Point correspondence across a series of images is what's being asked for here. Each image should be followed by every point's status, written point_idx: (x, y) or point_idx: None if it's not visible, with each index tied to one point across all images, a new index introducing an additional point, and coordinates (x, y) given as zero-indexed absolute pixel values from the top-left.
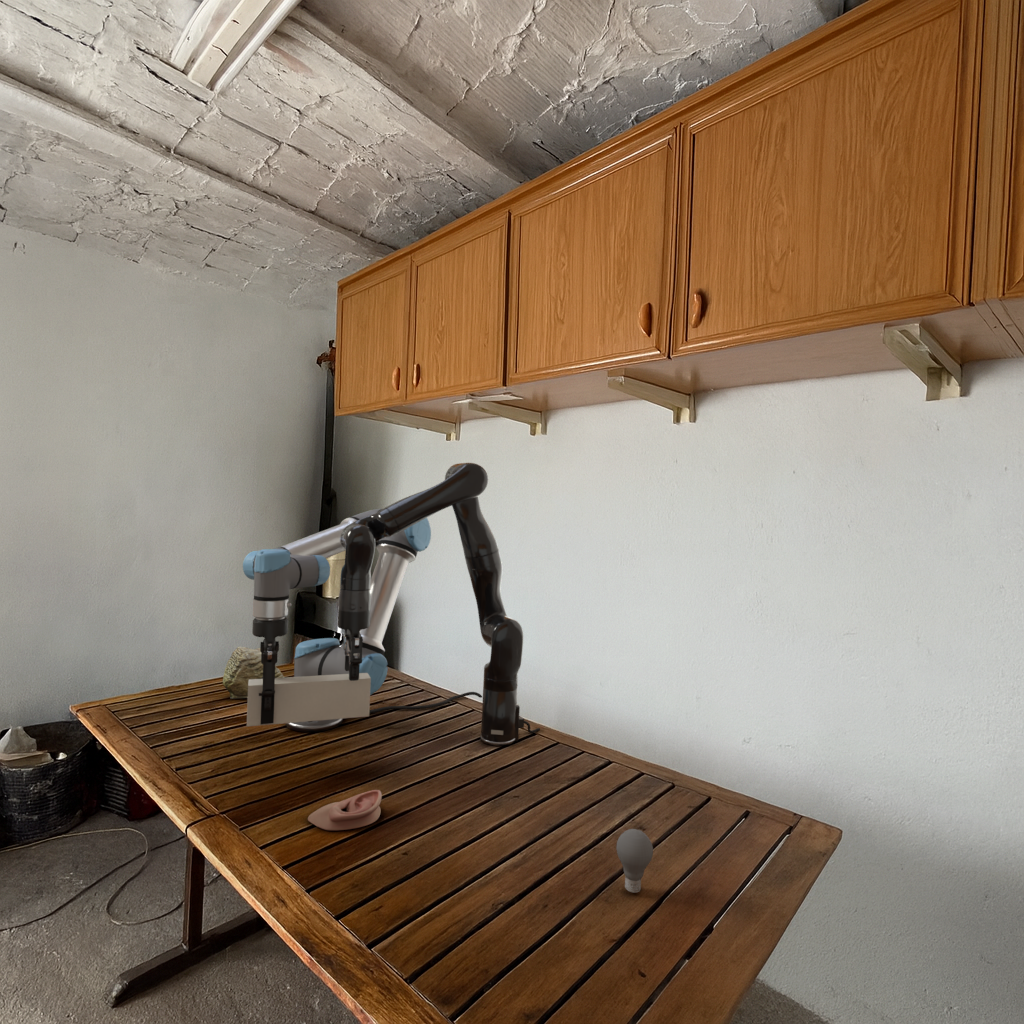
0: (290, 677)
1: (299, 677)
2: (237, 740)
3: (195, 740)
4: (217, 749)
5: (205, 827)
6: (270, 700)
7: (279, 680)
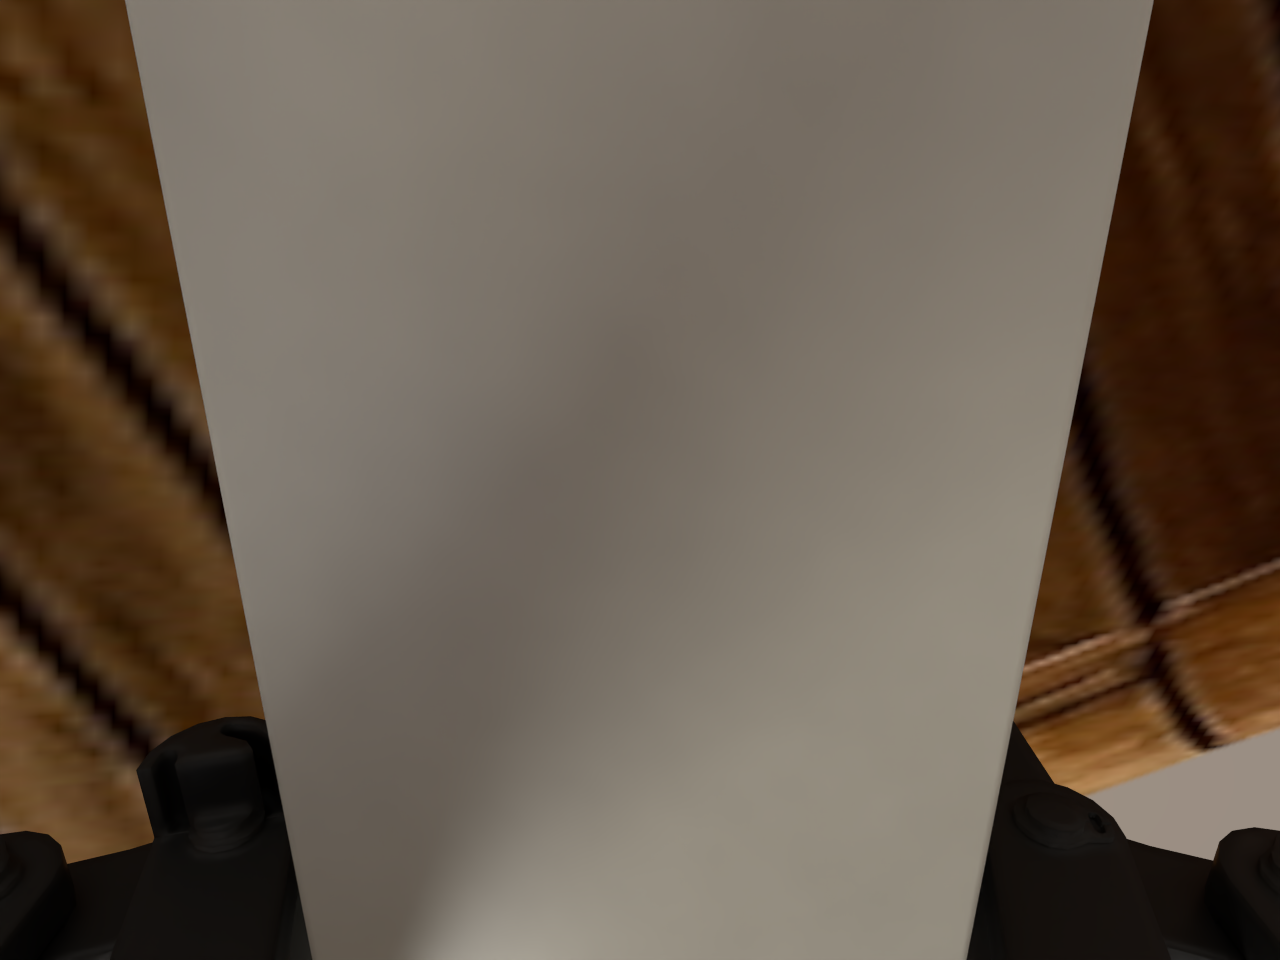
0: (278, 525)
1: (306, 170)
2: (24, 580)
3: (25, 810)
4: (191, 688)
5: (1275, 678)
6: (1032, 765)
7: (610, 845)
